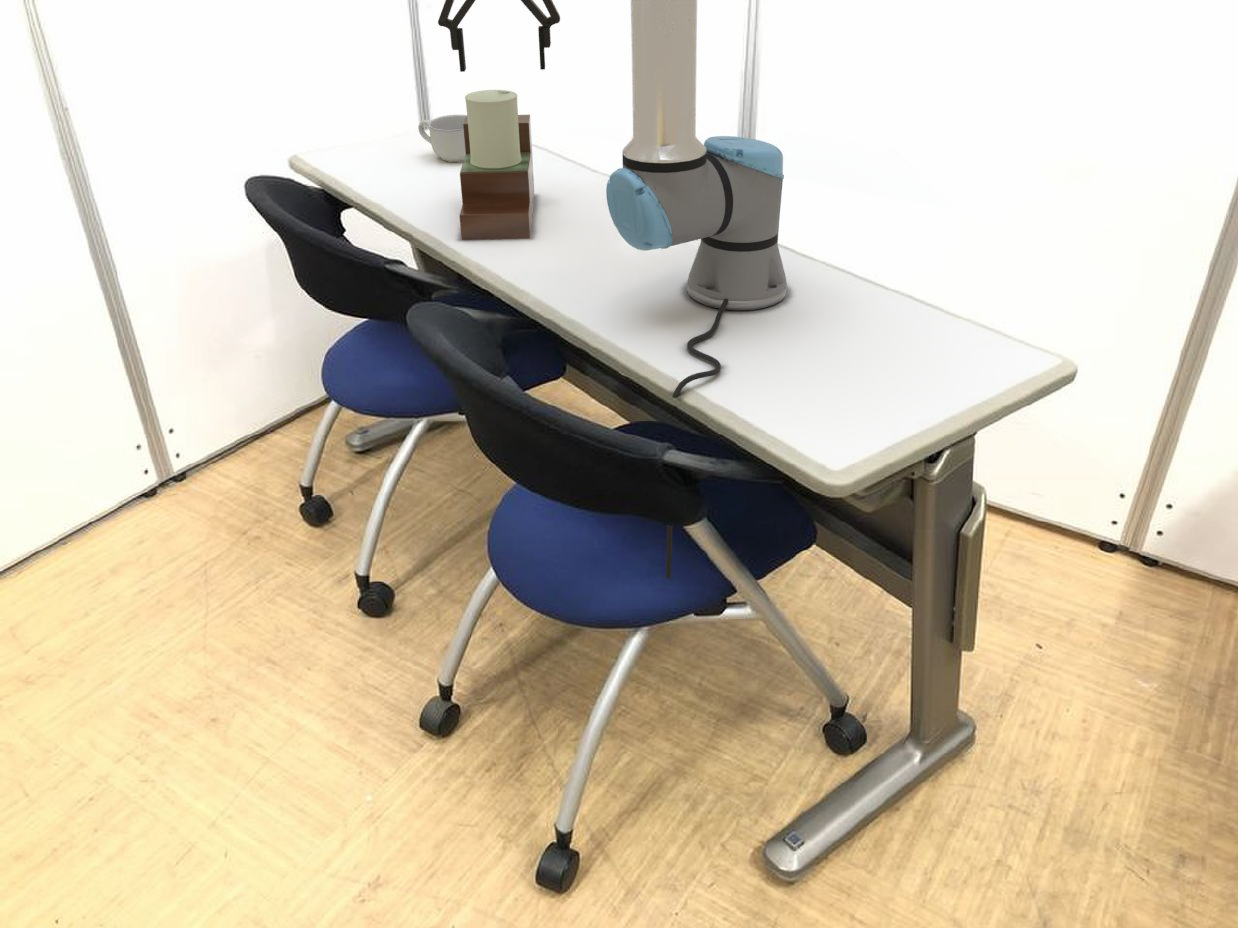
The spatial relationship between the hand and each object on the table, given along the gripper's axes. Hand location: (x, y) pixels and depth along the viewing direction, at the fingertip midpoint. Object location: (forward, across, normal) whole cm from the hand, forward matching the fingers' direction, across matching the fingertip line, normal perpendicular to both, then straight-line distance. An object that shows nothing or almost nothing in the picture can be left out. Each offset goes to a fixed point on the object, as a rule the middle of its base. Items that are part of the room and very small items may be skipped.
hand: (503, 69), depth 179 cm
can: (+16, +3, -2) cm, 17 cm away
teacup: (+26, +15, -42) cm, 52 cm away
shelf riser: (+26, +3, -2) cm, 26 cm away
